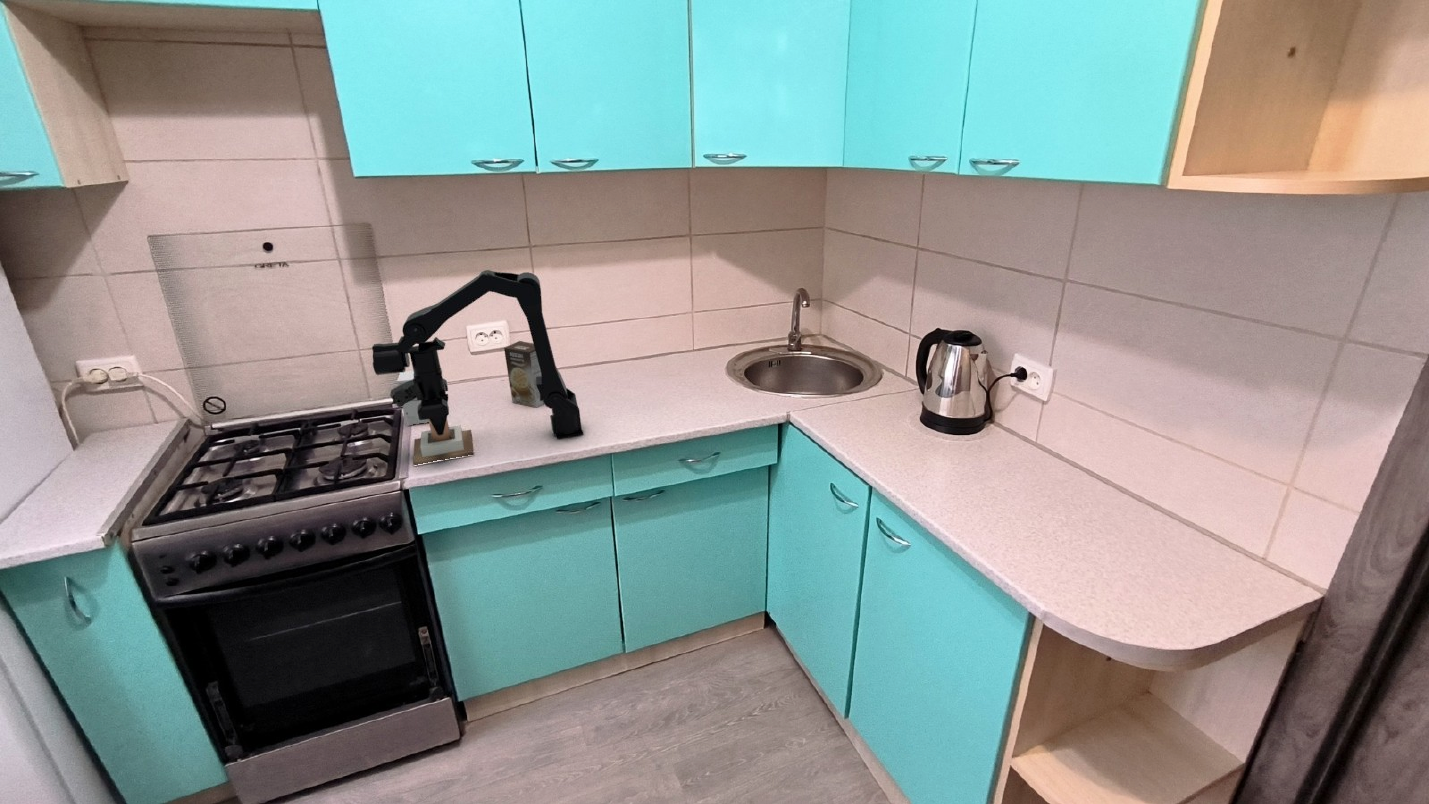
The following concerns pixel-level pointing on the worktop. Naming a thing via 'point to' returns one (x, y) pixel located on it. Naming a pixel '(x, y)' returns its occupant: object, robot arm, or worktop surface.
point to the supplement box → (411, 406)
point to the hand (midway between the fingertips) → (440, 431)
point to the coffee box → (523, 373)
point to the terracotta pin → (439, 438)
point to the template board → (442, 446)
